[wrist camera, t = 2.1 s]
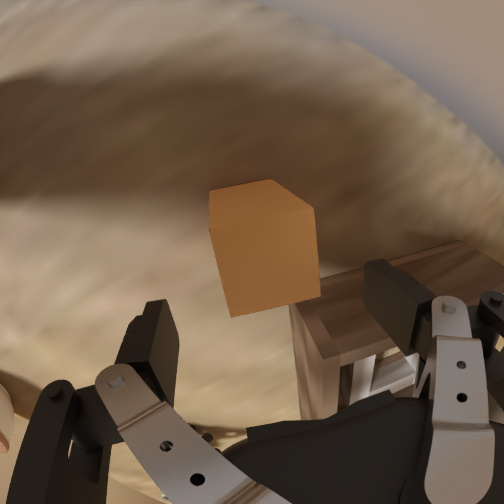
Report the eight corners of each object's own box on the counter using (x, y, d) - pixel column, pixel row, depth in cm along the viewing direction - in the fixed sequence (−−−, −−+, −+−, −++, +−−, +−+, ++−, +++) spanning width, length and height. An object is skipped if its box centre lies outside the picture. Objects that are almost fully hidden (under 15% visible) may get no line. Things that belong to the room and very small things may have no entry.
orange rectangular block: (209, 191, 18) (208, 229, 10) (270, 178, 18) (313, 207, 11) (221, 248, 19) (230, 317, 12) (279, 236, 20) (320, 296, 12)
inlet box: (286, 286, 21) (323, 359, 14) (459, 239, 22) (517, 274, 15) (300, 417, 28) (319, 474, 21) (430, 368, 29) (461, 408, 22)
